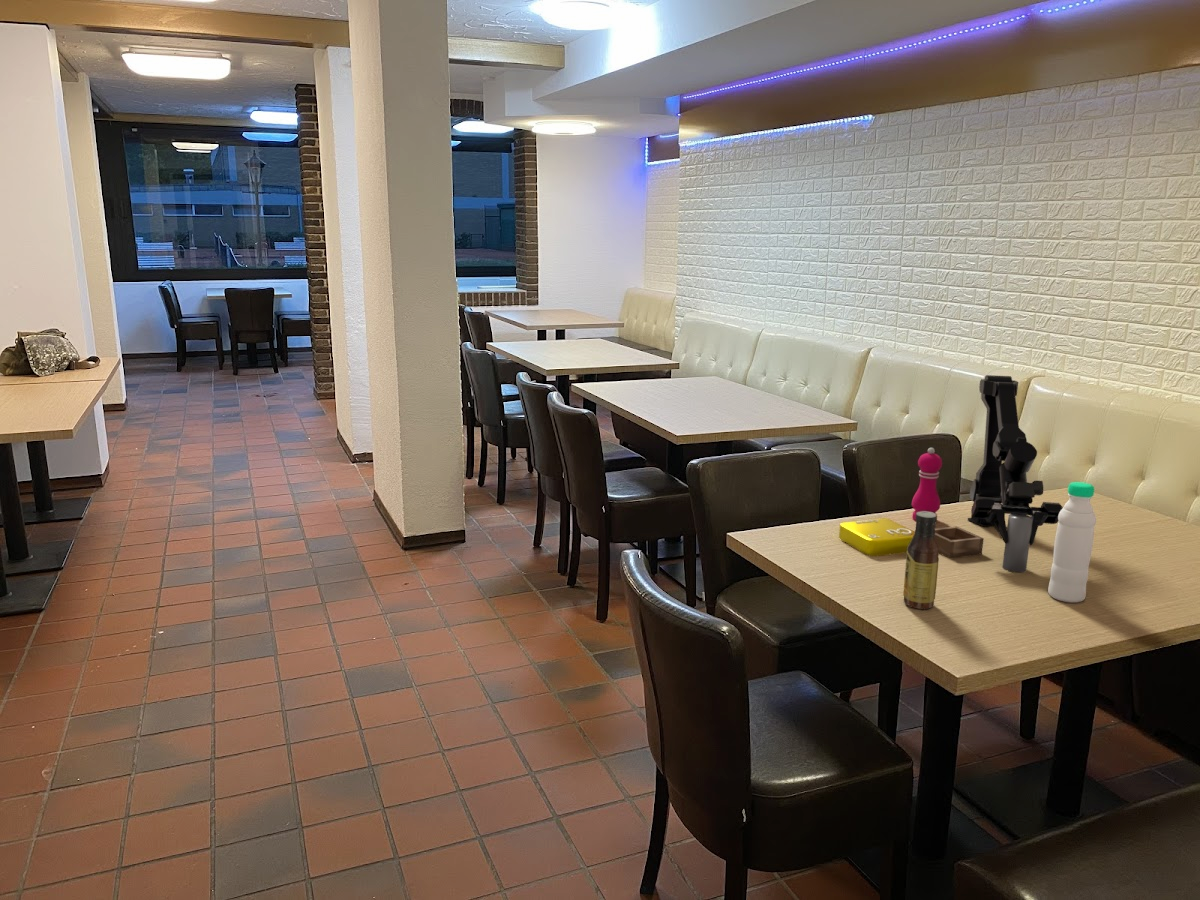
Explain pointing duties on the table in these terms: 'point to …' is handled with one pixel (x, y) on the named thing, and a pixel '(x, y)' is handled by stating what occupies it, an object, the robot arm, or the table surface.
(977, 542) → the walnut socket
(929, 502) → the pepper mill
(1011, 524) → the charcoal canister
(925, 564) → the sauce bottle
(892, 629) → the table surface
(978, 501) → the robot arm
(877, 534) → the element tile
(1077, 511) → the water bottle
